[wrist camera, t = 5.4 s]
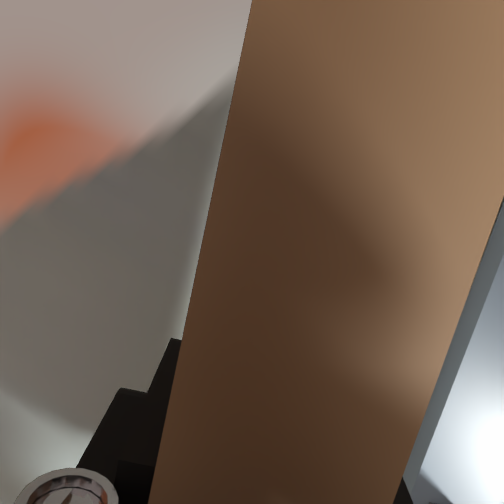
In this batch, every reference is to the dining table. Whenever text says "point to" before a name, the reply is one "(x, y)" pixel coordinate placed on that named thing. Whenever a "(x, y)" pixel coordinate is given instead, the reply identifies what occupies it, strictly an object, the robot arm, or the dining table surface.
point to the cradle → (467, 400)
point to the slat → (335, 249)
